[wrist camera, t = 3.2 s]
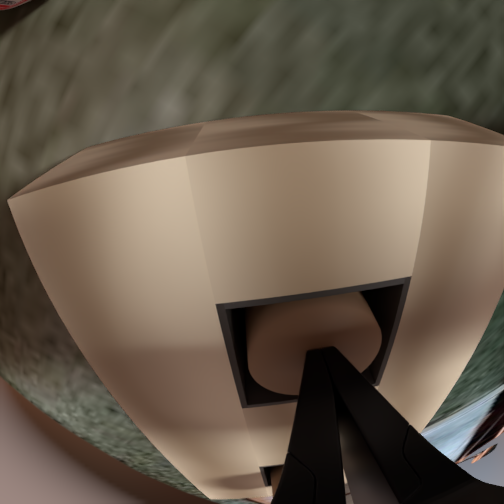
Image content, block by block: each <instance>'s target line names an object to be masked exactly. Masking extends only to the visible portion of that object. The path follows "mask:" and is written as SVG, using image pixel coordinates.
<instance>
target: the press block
mask: <svg viewBox="0 0 504 504" xmlns="http://www.w3.org/2000/svg"><path fill="white" fill-rule="evenodd" d="M7 201H8V204H9V207H10V210H11V213H12V215H13V218H14V221H15V223H16V226H17V228H18V231H19V234H20V236H21V238H22V241H23V243H24V246H25V248H26V250H27V252H28V255H29V257H30V259H31V261H32V264H33V266H34V268H35V270H36V272H37V274H38V276H39V278H40V280H41V282H42V284H43V286H44V288H45V290H46V292H47V294H48V296H49V298H50V300H51V302H52V303H53V305H54V307H55V309H56V311H57V312H58V314H59V316H60V318H61V319H62V321H63V323H64V325H65V326H66V328H67V330H68V331H69V333H70V335H71V336H72V338H73V339H74V341H75V343H76V344H77V346H78V347H79V349H80V350H81V352H82V354H83V355H84V357H85V358H86V360H87V361H88V363H89V364H90V365H91V367H92V368H93V370H94V371H95V373H96V374H97V376H98V377H99V378H100V380H101V381H102V382H103V384H104V385H105V387H106V388H107V389H108V391H109V392H110V393H111V395H112V396H113V397H114V398H115V400H116V401H117V402H118V404H119V405H120V406H121V407H122V409H123V410H124V411H125V412H126V414H127V415H128V416H129V417H130V418H131V420H132V421H133V422H134V423H135V424H136V425H137V427H138V428H139V429H140V430H141V431H142V432H143V434H144V435H145V436H146V437H147V438H148V439H149V440H150V441H151V442H152V444H153V445H154V446H155V447H156V448H157V449H158V450H159V451H160V452H161V453H162V454H163V455H164V456H165V457H166V458H167V459H168V460H169V461H170V462H171V463H172V464H173V465H174V466H175V467H176V468H177V469H178V470H179V471H180V472H181V473H182V474H183V475H184V476H185V477H186V478H187V479H188V480H189V481H190V482H191V483H192V484H194V485H195V486H196V487H197V488H198V489H199V490H200V491H201V492H202V493H204V494H205V495H206V496H207V497H208V498H209V499H238V498H254V497H266V496H273V494H272V484H271V475H270V468H271V467H272V466H280V465H284V462H285V458H286V454H287V449H288V445H289V440H290V436H291V431H292V426H293V421H294V416H295V411H296V406H297V401H298V395H288V394H281V393H277V392H274V391H271V390H268V389H266V388H264V387H263V386H261V385H260V384H258V383H257V382H256V381H255V380H254V378H253V377H252V375H251V374H250V371H249V368H248V356H247V341H246V327H245V312H244V310H242V311H241V308H242V307H250V306H259V305H267V304H275V303H283V302H290V301H298V300H305V299H312V298H319V297H326V296H332V295H339V294H345V293H352V292H358V291H361V292H362V294H363V296H364V297H365V299H366V301H367V303H368V305H369V307H370V309H371V311H372V313H373V315H374V317H375V319H376V321H377V323H378V325H379V327H380V329H381V334H382V341H381V346H380V349H379V352H378V353H377V355H376V357H375V358H374V360H373V361H372V363H371V364H370V365H369V366H368V367H367V368H366V369H365V370H364V371H363V372H362V373H361V374H362V375H363V376H364V377H365V378H366V379H367V380H368V381H369V382H370V383H371V384H372V385H373V386H374V387H375V388H376V389H377V390H378V391H379V392H380V393H381V394H382V395H383V396H384V397H385V398H386V400H387V401H388V402H389V403H390V404H391V405H392V406H393V407H394V408H395V409H396V410H397V411H398V412H399V413H400V414H401V415H402V416H403V417H404V418H405V419H406V420H407V421H408V422H409V425H412V426H413V427H414V428H415V429H416V430H417V431H418V432H419V433H421V432H422V430H423V429H424V428H425V426H426V425H427V424H428V422H429V421H430V420H431V418H432V417H433V416H434V414H435V413H436V411H437V410H438V409H439V407H440V406H441V404H442V403H443V401H444V400H445V398H446V397H447V395H448V394H449V392H450V391H451V389H452V388H453V386H454V385H455V383H456V381H457V380H458V378H459V376H460V375H461V373H462V372H463V370H464V368H465V366H466V365H467V363H468V361H469V359H470V358H471V356H472V354H473V352H474V350H475V349H476V347H477V345H478V343H479V341H480V339H481V337H482V335H483V333H484V331H485V329H486V327H487V325H488V323H489V321H490V319H491V317H492V315H493V312H494V310H495V308H496V306H497V303H498V301H499V299H500V296H501V294H502V292H503V289H504V135H502V134H499V133H497V132H494V131H492V130H489V129H486V128H484V127H481V126H478V125H475V124H472V123H470V122H467V121H464V120H461V119H457V118H454V117H451V116H446V115H437V114H426V113H412V112H395V111H310V112H291V113H277V114H265V115H255V116H246V117H237V118H229V119H221V120H214V121H207V122H201V123H194V124H188V125H183V126H177V127H172V128H166V129H161V130H156V131H152V132H147V133H142V134H138V135H133V136H129V137H125V138H121V139H117V140H113V141H109V142H105V143H101V144H97V145H94V146H90V147H87V148H85V149H83V150H82V151H80V152H78V153H77V154H75V155H73V156H72V157H70V158H68V159H67V160H65V161H63V162H62V163H60V164H59V165H57V166H55V167H54V168H52V169H51V170H49V171H48V172H46V173H45V174H43V175H42V176H40V177H39V178H37V179H36V180H34V181H33V182H31V183H30V184H28V185H27V186H26V187H24V188H23V189H21V190H20V191H19V192H17V193H16V194H15V195H13V196H12V197H11V198H9V199H8V200H7ZM343 471H344V469H343ZM344 482H345V484H346V483H347V479H346V476H345V473H344Z"/></svg>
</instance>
